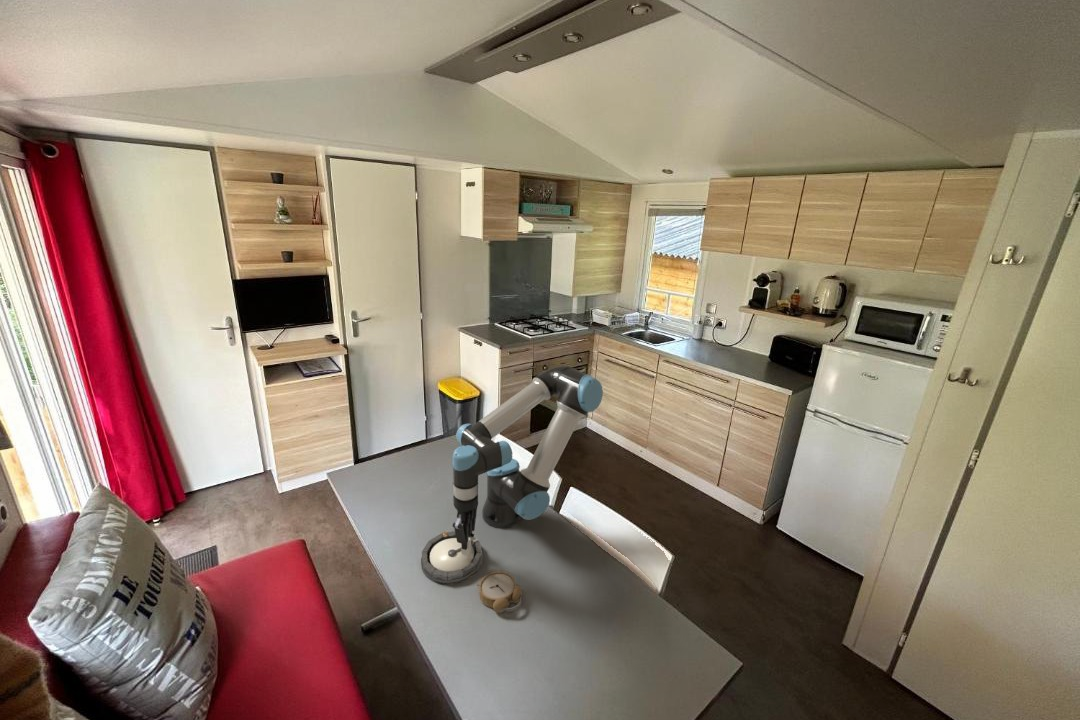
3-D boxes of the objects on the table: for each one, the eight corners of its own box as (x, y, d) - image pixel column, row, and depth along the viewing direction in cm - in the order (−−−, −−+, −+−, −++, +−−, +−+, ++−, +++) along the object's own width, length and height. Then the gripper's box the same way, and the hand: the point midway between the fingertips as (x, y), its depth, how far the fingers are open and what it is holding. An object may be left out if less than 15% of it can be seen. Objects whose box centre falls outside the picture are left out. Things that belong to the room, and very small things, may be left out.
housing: (477, 533, 157) (477, 525, 156) (487, 577, 139) (487, 568, 138) (419, 543, 151) (419, 534, 150) (422, 590, 133) (422, 580, 132)
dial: (441, 580, 135) (440, 556, 132) (422, 551, 146) (421, 528, 143) (481, 560, 144) (482, 537, 140) (461, 534, 154) (461, 512, 151)
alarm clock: (500, 565, 141) (530, 588, 130) (501, 578, 142) (531, 602, 131) (470, 583, 133) (500, 609, 122) (472, 597, 134) (502, 624, 123)
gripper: (464, 479, 141) (465, 537, 149) (444, 503, 129) (445, 565, 137) (485, 484, 139) (485, 543, 147) (466, 509, 127) (467, 572, 135)
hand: (466, 553), depth 142 cm, fingers closed
